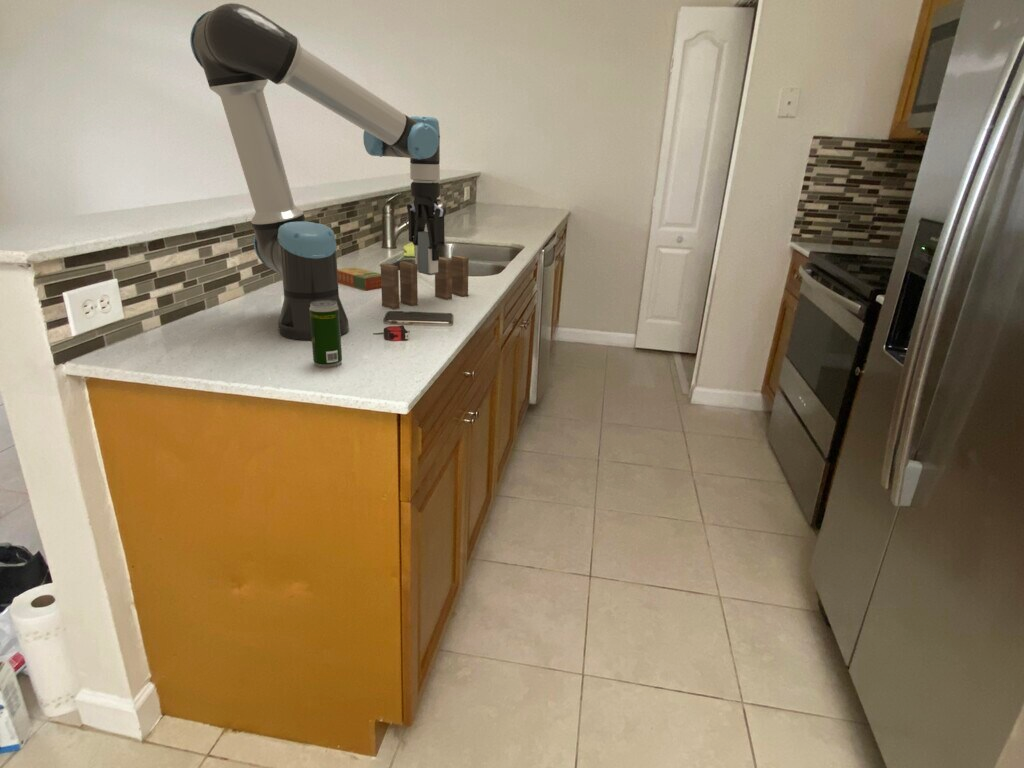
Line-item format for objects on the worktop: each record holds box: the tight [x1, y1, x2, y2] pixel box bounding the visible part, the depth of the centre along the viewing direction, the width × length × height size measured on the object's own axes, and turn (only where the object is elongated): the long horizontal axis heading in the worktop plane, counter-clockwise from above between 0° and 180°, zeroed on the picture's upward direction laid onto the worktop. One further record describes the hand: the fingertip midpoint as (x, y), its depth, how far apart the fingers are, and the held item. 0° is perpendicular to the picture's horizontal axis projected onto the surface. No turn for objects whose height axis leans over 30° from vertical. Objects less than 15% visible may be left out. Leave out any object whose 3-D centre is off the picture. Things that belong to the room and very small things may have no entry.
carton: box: [337, 266, 381, 292], centre depth 188 cm, size 8×16×4 cm, turn 49°
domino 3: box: [417, 230, 436, 276], centre depth 168 cm, size 2×5×11 cm, turn 45°
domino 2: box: [399, 260, 419, 307], centre depth 167 cm, size 2×5×11 cm, turn 45°
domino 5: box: [451, 255, 469, 298], centre depth 179 cm, size 2×5×11 cm, turn 45°
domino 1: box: [380, 263, 400, 310], centre depth 163 cm, size 2×5×11 cm, turn 45°
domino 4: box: [434, 256, 453, 301], centre depth 175 cm, size 2×5×11 cm, turn 45°
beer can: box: [309, 300, 343, 369], centre depth 119 cm, size 5×5×12 cm
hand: (426, 270), depth 170 cm, fingers closed on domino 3, 5 cm apart
